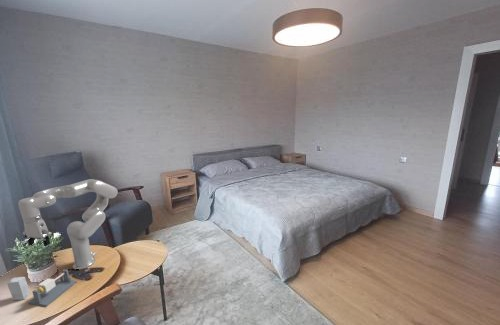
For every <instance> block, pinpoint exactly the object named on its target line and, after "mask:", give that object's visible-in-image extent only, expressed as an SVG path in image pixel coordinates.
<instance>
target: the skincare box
mask: <svg viewBox="0 0 500 325" xmlns="http://www.w3.org/2000/svg"><path fill="white" fill-rule="evenodd" d="M6 284H7V286H8V289H9V292H10V295H11V299H12V300H13V301H21V300H22V301H23V300H25V299H26V298H28V297H29V296H30V295H31V292H30V289H29V285H28V283H27V279H26V277H25V276H18V277H16V276H15V277H13V278H11V279H10V280H8V281H7V282H6Z"/></svg>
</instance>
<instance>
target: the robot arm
mask: <svg viewBox="0 0 500 325" xmlns="http://www.w3.org/2000/svg"><path fill="white" fill-rule="evenodd" d="M90 192H92V193H96V198H95V200H94V201H93V203H92V204H91V205H90V206H89V207H88V208H87V209H86V210H85V211H84V212H83V213H82V215H81V218H82V220H83V221H85V222H83V221H80V220H75V221H72V222H71V223H69V224H68V226H67V227H66V232H67V236H68V238H69V240H70V244H71V250H72V255H73V260H74V263H73V264H72V268H73V270H76V269H79V270H84V269H86V268H88V267H89V268H90V266H92V265H93V264H94V263H95V262H96V258H95V257H94V256H95V255H97V254H98V251H96V250H95V251H93V252H92V250H91V246H90V240H89V238H90V237H91V236H93V234H94V233H96V231H97V230H98V229H99V228H100V226H101V225H102V224H103V223H104V222H105V221H106V216H107V215H106V213H105V212H104V210H105V209H106V208H107V206H108V205H109V199H114V198H116V197H117V195H118V189H117V188H116V187H115V186H114V185H111V184H109V183H107V182H104V181H102V180H99V179H93V178H89V179H86V180H81V181H78V182H74V183H72V184H67V185H62V186H57V187H50V188H47V189H43V190H40V191H38V192H35V193H34V194H33V195H32V196H31V197H24V198H22V199H19V200H18V202H17V204H18V209H19V211H20V215H21V219H22V221H23V228H24V231H22V234H23V236H24V237H25V238H26V240H27V239H29V238H30V239H29V240H27V242H28V245H29V247H31V246H30V245H32V244H33V243H34V240H35V241H36V238H37V239H41V240H42V244H43V247H44V248H45V247H48V246H49V245H50V244H51V240H50V237H51V235H52V232H51V231H49V229H48V227H47V224H46V222H45V220H44V219H43V218H42V214H41V211H40V209H44V208H47V207H50V206H53V205H54V204H56V202H57V199H66V198H67V199H68V198H69V199H70V198H76V197H79V196H81V195H85V194H87V193H90ZM33 245H34V244H33ZM33 245H32V246H33Z"/></svg>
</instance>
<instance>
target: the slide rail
mask: <svg viewBox="0 0 500 325" xmlns="http://www.w3.org/2000/svg"><path fill="white" fill-rule="evenodd" d="M61 272H62V273H61V274H59V275H58V276H57V277H55V278H53V279H54V280H55V285H56V286H55V287H54V288H52V289H51V290H50V291H48V292H47V293H46V292H43V291H44V287H43V288H42V287H40V288H39V287H38V288H37V289H33V290H32V295H33V296H32V297H33V298H31V299H30V300H29V301H28V302H27V304H28V305H34V306H40V307H48V306H50V304H52V303H53V302H54V301H56V300H57V299H58V298H59V297H61V296H62V295H63V294H65V292H67V291H68V290H70V289H71V288H72V287H73V286H74V285H75V284H77V283H78V282H77V281H78V280H72V278H71V277H70V273H69V270H68V269H62V271H61Z"/></svg>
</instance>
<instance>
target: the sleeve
mask: <svg viewBox="0 0 500 325" xmlns="http://www.w3.org/2000/svg"><path fill="white" fill-rule="evenodd" d="M54 279H55V278H49V277H48V278H45V280H43V281H42V282H40V283H39V284H38V288H40V287H42V288H43V287H44V291H43V292H46V293H47V292H48V291H50V290H51V289H52V288H54V287H55V286H56V285H55V282H56V281H55V280H54Z"/></svg>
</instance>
